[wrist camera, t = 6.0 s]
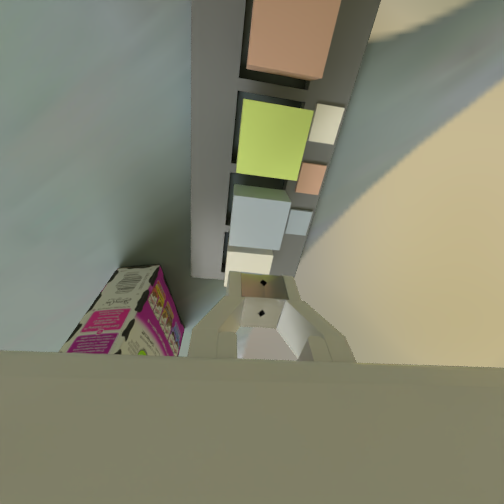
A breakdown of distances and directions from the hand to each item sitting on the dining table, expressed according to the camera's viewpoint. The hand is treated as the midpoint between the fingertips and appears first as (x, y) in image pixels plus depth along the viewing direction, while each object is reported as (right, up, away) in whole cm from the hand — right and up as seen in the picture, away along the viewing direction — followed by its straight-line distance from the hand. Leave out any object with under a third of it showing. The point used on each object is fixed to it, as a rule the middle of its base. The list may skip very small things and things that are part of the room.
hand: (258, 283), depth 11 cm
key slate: (0, +5, +9) cm, 11 cm away
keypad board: (0, +9, +9) cm, 12 cm away
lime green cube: (+1, +10, +6) cm, 12 cm away
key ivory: (-1, +2, +13) cm, 13 cm away
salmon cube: (+2, +14, +3) cm, 15 cm away
